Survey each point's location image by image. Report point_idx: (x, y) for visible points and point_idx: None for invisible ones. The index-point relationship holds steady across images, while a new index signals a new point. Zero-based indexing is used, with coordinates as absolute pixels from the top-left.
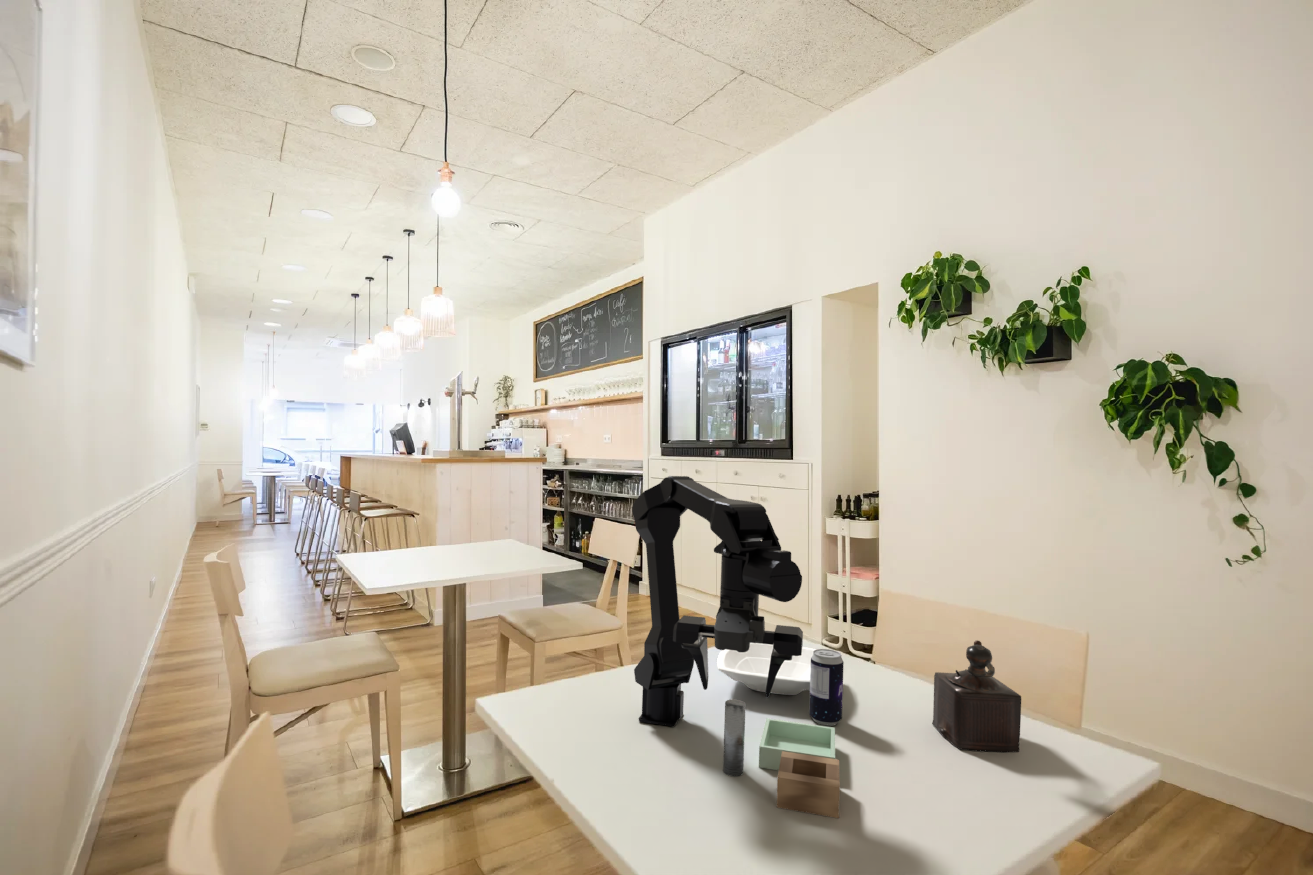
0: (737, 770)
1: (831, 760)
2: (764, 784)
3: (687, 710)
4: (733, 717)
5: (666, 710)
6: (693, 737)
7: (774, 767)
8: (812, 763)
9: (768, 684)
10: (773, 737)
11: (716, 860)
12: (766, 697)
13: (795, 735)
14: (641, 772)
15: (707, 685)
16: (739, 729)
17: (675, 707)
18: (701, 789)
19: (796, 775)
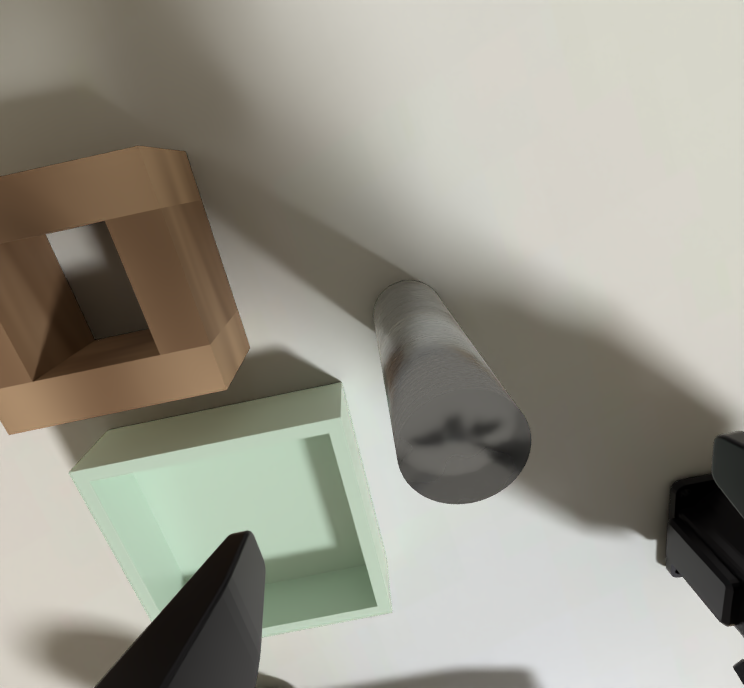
0: (385, 295)
1: (29, 415)
2: (284, 285)
3: (653, 592)
4: (441, 360)
5: (736, 518)
6: (594, 454)
7: (290, 395)
8: (90, 366)
9: (187, 618)
10: (358, 557)
11: None
12: (246, 531)
13: (295, 587)
14: (711, 129)
15: (724, 485)
16: (400, 353)
17: (712, 543)
18: (468, 129)
19: (78, 210)
